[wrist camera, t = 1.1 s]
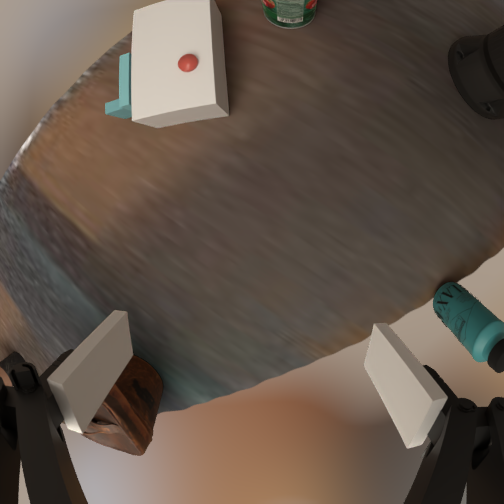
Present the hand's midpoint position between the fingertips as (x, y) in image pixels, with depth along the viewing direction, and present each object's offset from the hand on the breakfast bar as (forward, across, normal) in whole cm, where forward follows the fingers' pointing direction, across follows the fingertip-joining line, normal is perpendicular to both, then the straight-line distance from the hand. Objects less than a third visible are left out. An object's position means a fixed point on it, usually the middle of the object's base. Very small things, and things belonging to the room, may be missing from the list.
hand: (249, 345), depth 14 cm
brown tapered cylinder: (+33, -23, -30) cm, 50 cm away
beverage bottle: (+26, +32, -7) cm, 42 cm away
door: (+29, -19, +22) cm, 41 cm away
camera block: (+28, -11, +26) cm, 40 cm away
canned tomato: (+26, +4, +36) cm, 45 cm away
